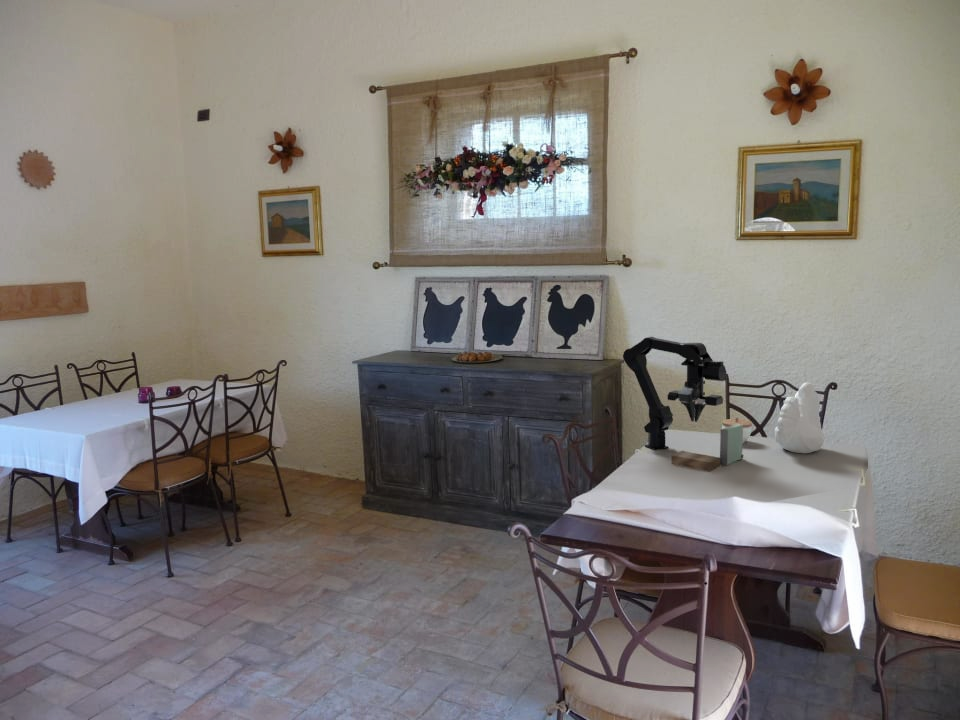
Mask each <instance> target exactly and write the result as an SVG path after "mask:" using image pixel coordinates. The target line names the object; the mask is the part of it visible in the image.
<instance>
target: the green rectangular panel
mask: <svg viewBox="0 0 960 720" xmlns="http://www.w3.org/2000/svg"><path fill="white" fill-rule="evenodd" d="M719 435H720V439H719V441H720V445H719V458H720V466H728V465H730V464H732V463H735V462H736V461H739V460H741V459H744V454H743V443H742V442H743V424H735V425H733V426H730V427H727V428H724V429H722V428H721V429H720V434H719Z"/></svg>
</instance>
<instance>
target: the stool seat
mask: <svg viewBox="0 0 960 720" xmlns="http://www.w3.org/2000/svg"><path fill="white" fill-rule="evenodd" d="M670 464H671V465H676V466H681V467H686V468H691V469H696V470H701V471H707V472H711V470H712V471H713V469H714V470H716V469H718V468H719V467H721V465H720V456H713V455H706V454H703V453H702V454H701V453H697V452H696V453H695V452H692V451H691V452H690V451H685V450H681V451H679V452H676V453H673V454H671V463H670ZM717 467H718V468H717Z"/></svg>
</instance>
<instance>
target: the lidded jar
mask: <svg viewBox="0 0 960 720" xmlns="http://www.w3.org/2000/svg"><path fill="white" fill-rule="evenodd" d="M721 424H722V426H721V427H722V428H721V429H724V428H727V427H730V426H733V425H735V424H743V442H742V444H745V443H746V441H747V440H749V438H750V436H751V433H752V426H753V423H752V421H750V420H746V419H741V418H739V417H735V418H729V419H728V418H727V419H723V420H721Z"/></svg>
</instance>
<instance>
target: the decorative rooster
mask: <svg viewBox="0 0 960 720" xmlns="http://www.w3.org/2000/svg"><path fill="white" fill-rule="evenodd" d="M815 389H816V388H815V385H814V384H813V382H807V381H805V382H803V383H802V384H801V385H800V387H799V389H798V390H797V392H795V395H794V396H787V397H786V398H785V400H784V402H783V405H782V406H781V408H780V411H779V415H778V416H779V417H778V419H777V421H776V422H777V423H776V424H777V425H776V427H775V428H774V434H775V435H774V436H775V441H776V443H778V444H779V446H780V447H781V448H782V449H784V450H787V451H789V452H791V453H794V452H795V453H796V454H797V453H798V454H810V453H813V452H817V451H819V450H820V449H822V447H823V445H824V442H825V441H824V440H825V438H824V433H823V429H822V423H821V420H820V405H821V404H820V401H821V400H820V395H819V394H818V392H817V391H816V390H815Z"/></svg>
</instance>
